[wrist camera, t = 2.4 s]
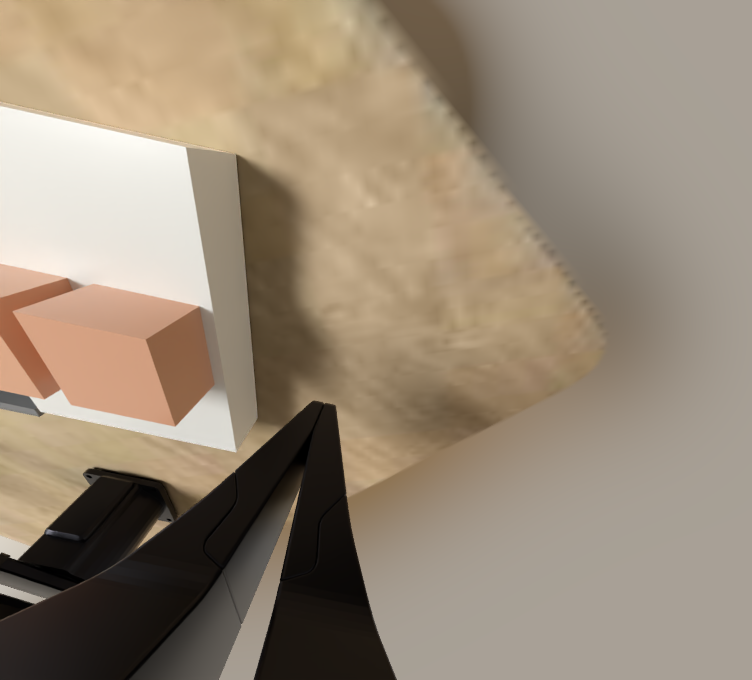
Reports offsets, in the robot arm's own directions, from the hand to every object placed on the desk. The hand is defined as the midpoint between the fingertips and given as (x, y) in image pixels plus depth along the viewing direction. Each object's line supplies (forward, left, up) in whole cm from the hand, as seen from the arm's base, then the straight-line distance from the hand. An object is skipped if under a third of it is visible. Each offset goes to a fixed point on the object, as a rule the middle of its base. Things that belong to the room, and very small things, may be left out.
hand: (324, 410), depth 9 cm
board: (0, +10, -4) cm, 11 cm away
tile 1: (0, +7, -2) cm, 8 cm away
